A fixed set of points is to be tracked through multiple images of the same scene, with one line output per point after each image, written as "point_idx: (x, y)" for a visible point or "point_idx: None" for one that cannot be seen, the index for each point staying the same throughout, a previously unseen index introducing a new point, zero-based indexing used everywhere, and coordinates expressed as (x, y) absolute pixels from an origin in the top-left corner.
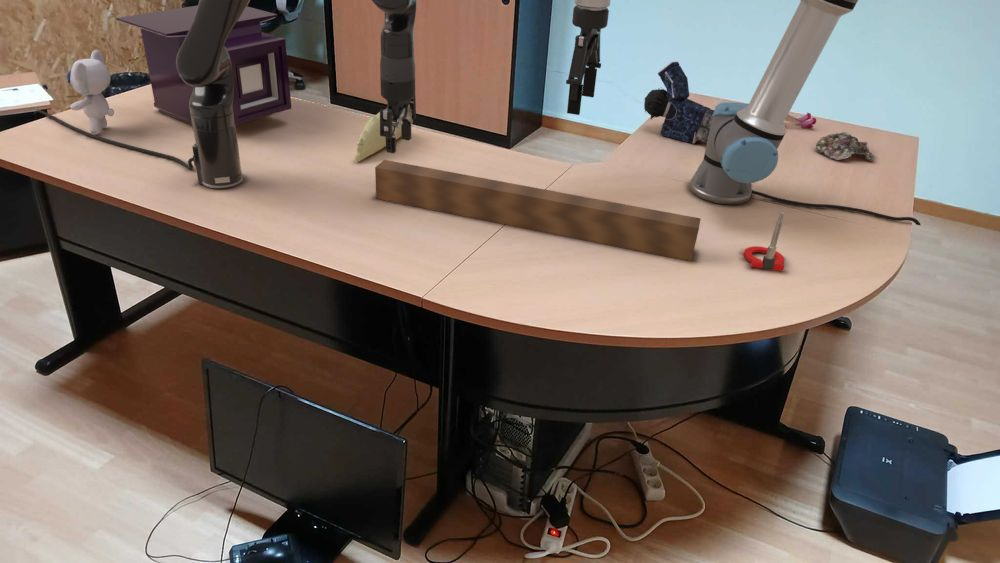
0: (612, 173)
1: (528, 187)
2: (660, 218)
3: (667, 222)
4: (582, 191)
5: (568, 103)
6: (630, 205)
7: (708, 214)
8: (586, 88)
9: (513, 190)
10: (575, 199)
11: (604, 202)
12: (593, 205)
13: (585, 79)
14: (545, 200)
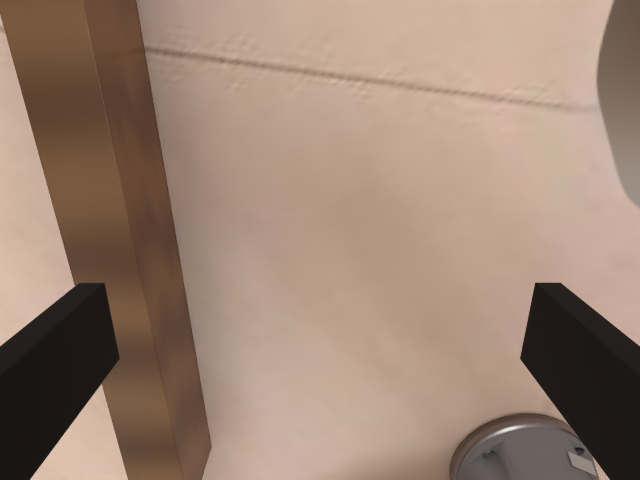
0: (557, 237)
1: (91, 88)
2: (134, 453)
3: (125, 467)
4: (399, 188)
5: (31, 326)
6: (162, 388)
7: (390, 454)
8: (563, 345)
9: (32, 42)
10: (105, 255)
11: (138, 329)
12: None
13: (624, 381)
14: (45, 171)
